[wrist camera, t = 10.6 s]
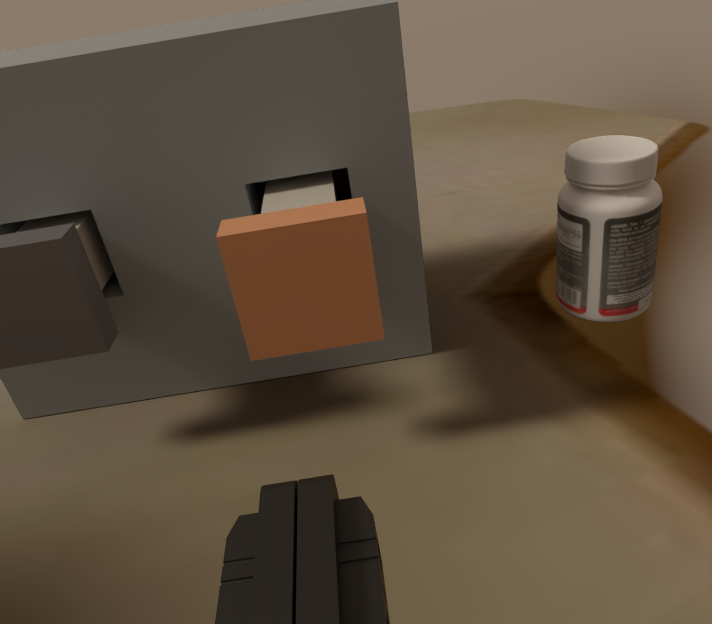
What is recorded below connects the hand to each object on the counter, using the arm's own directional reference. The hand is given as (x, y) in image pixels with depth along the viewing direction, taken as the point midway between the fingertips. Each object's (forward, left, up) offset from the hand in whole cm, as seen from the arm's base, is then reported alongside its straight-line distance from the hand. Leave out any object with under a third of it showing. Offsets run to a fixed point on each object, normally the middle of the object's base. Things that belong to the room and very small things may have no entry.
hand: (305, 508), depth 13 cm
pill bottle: (+1, +24, -8) cm, 25 cm away
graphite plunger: (-19, +8, -2) cm, 20 cm away
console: (-17, +14, -8) cm, 23 cm away
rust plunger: (-8, +12, -2) cm, 15 cm away
